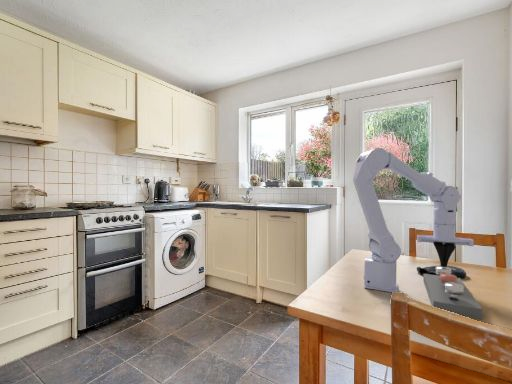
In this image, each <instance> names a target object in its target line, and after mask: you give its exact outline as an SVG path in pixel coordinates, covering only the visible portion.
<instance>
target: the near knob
mask: <svg viewBox="0 0 512 384" xmlns="http://www.w3.org/2000/svg"><path fill="white" fill-rule="evenodd" d="M445 292H447V293H449V294H451V300H455V301H457V295H463V293H464V286H463V285H461V284H458V283H454V282H446V283H445Z"/></svg>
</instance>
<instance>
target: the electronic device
mask: <svg viewBox="0 0 512 384" xmlns="http://www.w3.org/2000/svg"><path fill="white" fill-rule="evenodd" d="M436 266H437V265H432V266H426V267H421V266H417V267H416V270H417V271H416V272H417V274H419V275H422V276H423V274H430V275H434V274H436ZM439 266H441V265H439ZM447 267H449V268H451V274H452V275H455V276H457V278H460V279H463V278H465V277H467V271H465V270H464V269H463V268H462V267H461V268H460V267H457V266H452V265H447ZM437 275H438V274H437ZM438 276H440V275H438Z"/></svg>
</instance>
